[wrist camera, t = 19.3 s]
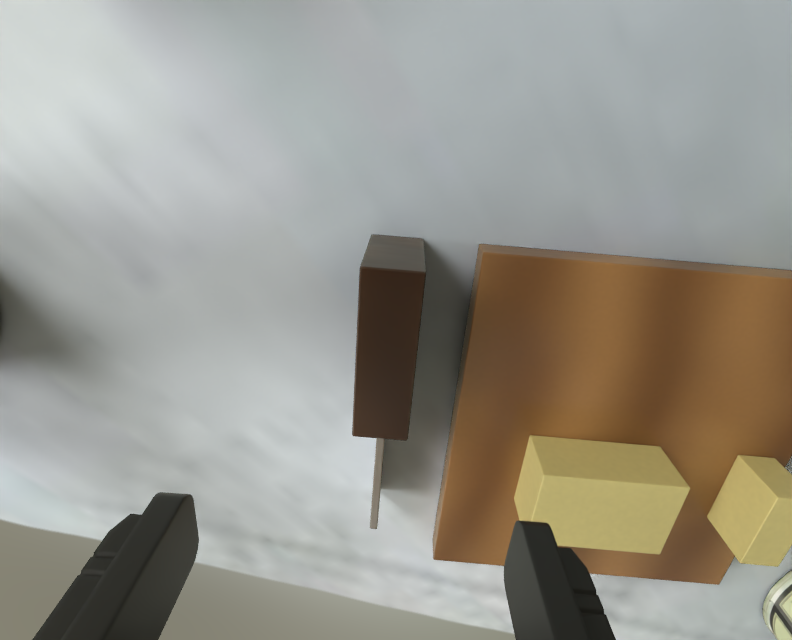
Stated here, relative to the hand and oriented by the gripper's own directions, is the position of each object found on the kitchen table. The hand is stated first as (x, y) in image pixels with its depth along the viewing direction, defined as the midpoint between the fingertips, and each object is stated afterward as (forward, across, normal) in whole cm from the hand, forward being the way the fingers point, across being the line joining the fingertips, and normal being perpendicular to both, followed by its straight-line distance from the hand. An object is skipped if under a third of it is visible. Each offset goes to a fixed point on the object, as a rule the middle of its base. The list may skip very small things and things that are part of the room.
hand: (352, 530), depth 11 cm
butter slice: (+11, -21, +8) cm, 25 cm away
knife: (+13, -1, +4) cm, 14 cm away
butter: (+12, -12, +8) cm, 18 cm away
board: (+13, -14, +6) cm, 20 cm away
